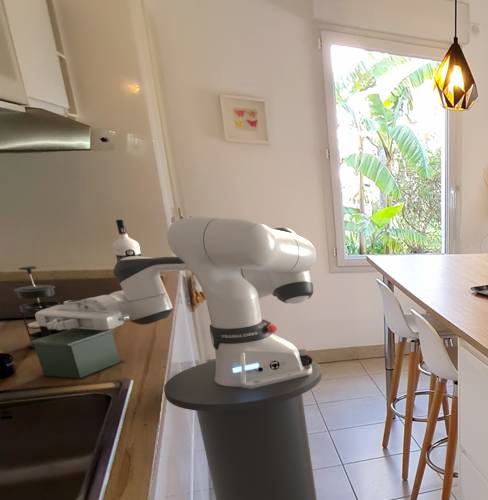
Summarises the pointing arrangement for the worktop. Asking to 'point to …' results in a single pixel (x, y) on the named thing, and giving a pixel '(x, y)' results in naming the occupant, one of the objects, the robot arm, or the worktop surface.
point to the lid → (70, 337)
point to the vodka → (125, 243)
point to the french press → (36, 292)
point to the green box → (78, 357)
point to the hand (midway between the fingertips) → (52, 327)
